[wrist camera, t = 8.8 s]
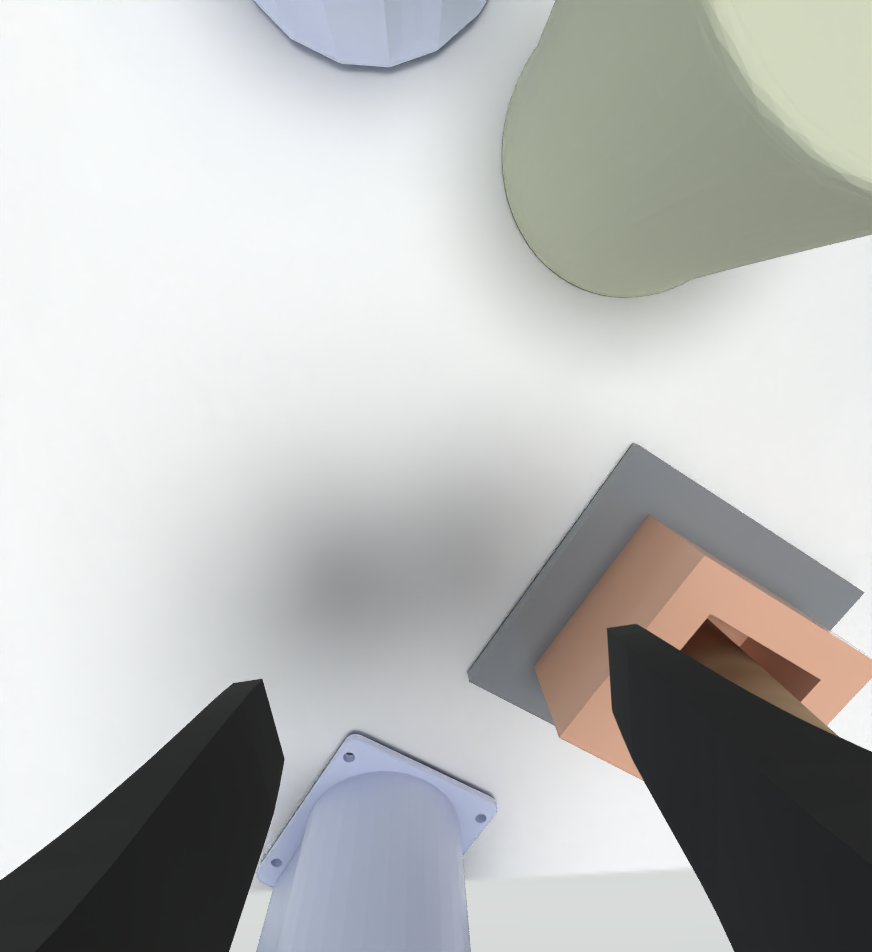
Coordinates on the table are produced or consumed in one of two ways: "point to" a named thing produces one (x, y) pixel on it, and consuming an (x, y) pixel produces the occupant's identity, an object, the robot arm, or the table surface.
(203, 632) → the table surface
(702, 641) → the walnut peg
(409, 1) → the soap bottle
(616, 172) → the can
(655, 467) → the terracotta holder
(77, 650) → the table surface
